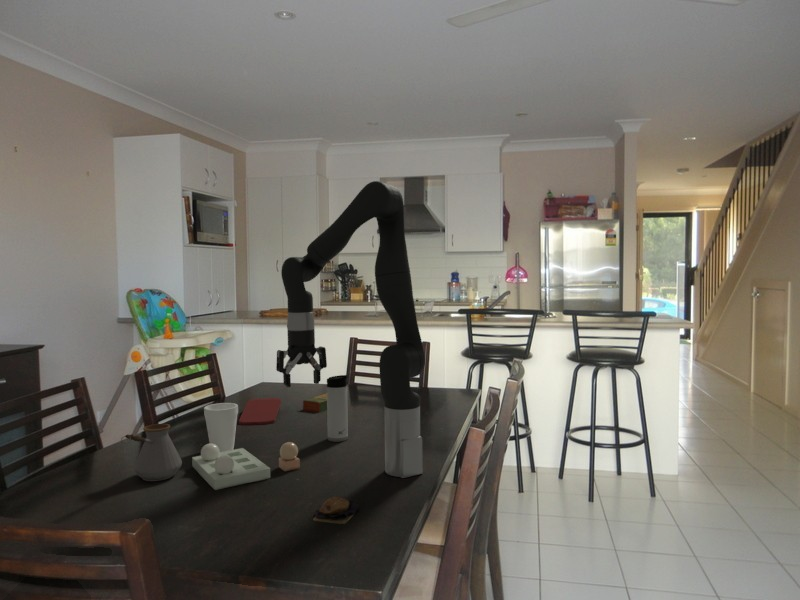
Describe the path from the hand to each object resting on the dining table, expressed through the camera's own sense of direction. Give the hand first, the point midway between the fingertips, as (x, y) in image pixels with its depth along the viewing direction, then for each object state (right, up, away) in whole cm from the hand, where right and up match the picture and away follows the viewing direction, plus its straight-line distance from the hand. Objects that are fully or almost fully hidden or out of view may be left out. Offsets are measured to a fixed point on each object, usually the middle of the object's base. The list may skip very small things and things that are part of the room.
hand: (302, 385), depth 166 cm
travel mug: (+8, -19, +16) cm, 27 cm away
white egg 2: (-16, -19, -20) cm, 32 cm away
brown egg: (-2, -19, -10) cm, 21 cm away
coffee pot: (-35, -22, -20) cm, 46 cm away
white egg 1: (-23, -19, -9) cm, 31 cm away
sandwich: (+14, -23, -39) cm, 47 cm away
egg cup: (-2, -21, -10) cm, 23 cm away
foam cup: (-25, -20, +6) cm, 32 cm away
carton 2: (-23, -19, +48) cm, 56 cm away
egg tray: (-17, -21, -13) cm, 30 cm away
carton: (-1, -18, +60) cm, 62 cm away
